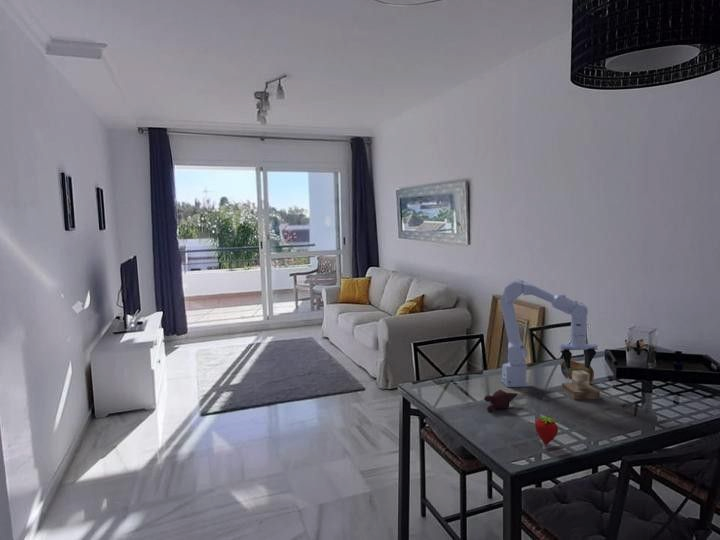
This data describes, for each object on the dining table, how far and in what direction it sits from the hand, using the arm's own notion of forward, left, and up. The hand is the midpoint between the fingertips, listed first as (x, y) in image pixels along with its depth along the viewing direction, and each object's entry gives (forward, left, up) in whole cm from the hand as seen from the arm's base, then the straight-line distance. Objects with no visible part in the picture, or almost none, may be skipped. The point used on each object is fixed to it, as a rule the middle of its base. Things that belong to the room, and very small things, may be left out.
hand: (577, 367), depth 185 cm
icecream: (-35, -12, -11) cm, 38 cm away
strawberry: (-31, -41, -11) cm, 52 cm away
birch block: (0, -2, -7) cm, 8 cm away
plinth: (0, -2, -10) cm, 10 cm away
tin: (+7, +14, -11) cm, 19 cm away
